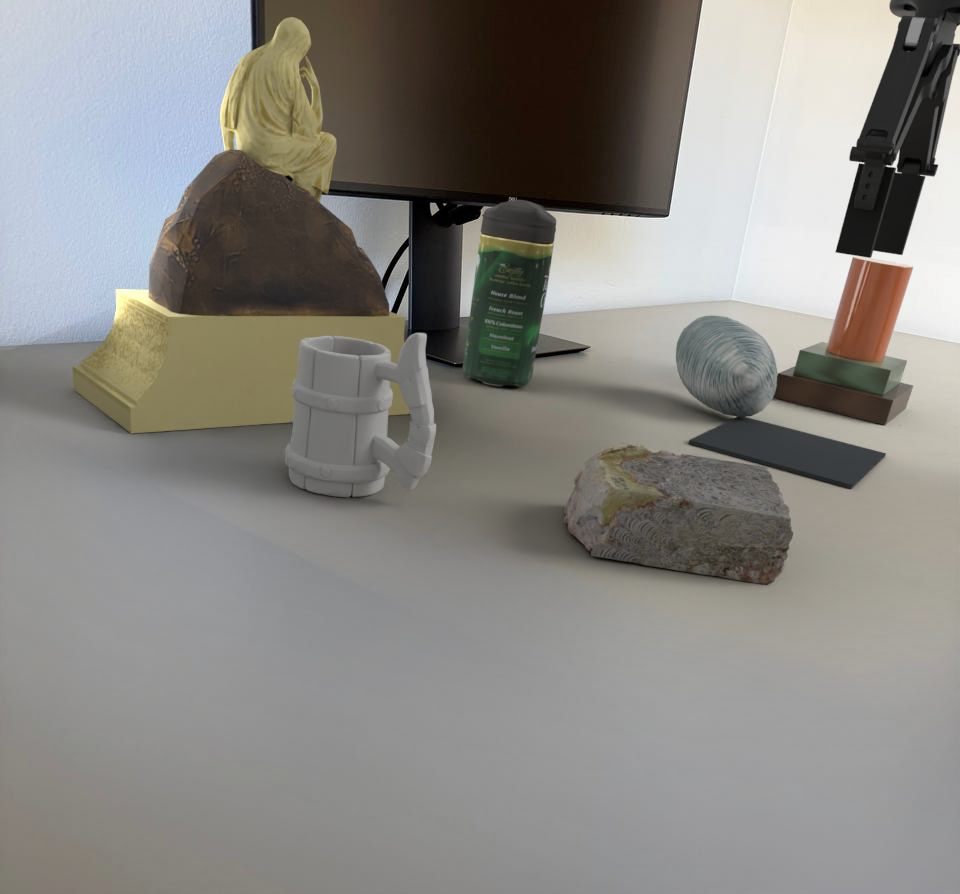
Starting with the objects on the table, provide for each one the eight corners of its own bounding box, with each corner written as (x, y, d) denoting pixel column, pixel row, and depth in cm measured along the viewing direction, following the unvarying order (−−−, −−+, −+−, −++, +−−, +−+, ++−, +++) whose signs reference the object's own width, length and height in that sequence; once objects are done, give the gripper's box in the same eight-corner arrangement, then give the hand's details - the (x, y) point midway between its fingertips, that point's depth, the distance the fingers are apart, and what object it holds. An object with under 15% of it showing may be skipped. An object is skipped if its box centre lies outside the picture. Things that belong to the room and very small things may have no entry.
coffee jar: (528, 393, 105) (557, 208, 97) (456, 381, 106) (479, 196, 97) (535, 375, 114) (562, 204, 105) (469, 364, 114) (490, 192, 106)
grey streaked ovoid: (669, 380, 116) (645, 331, 108) (736, 329, 114) (716, 275, 106) (734, 454, 109) (713, 408, 101) (806, 401, 107) (791, 349, 99)
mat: (884, 456, 101) (886, 453, 101) (851, 489, 89) (852, 484, 89) (738, 418, 108) (739, 415, 108) (688, 443, 95) (689, 439, 95)
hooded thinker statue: (351, 378, 101) (375, 42, 87) (423, 412, 92) (462, 47, 79) (73, 389, 84) (49, -25, 70) (131, 433, 75) (115, -28, 62)
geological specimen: (813, 518, 63) (587, 475, 62) (782, 601, 66) (565, 560, 65) (775, 464, 72) (578, 426, 71) (749, 539, 75) (560, 502, 74)
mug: (328, 457, 77) (338, 299, 71) (453, 499, 72) (475, 334, 66) (261, 477, 71) (267, 306, 65) (393, 524, 66) (411, 344, 60)
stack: (905, 408, 126) (921, 361, 124) (885, 425, 115) (901, 374, 113) (800, 383, 132) (813, 338, 129) (771, 397, 121) (784, 348, 118)
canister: (888, 358, 122) (918, 266, 117) (877, 364, 117) (907, 268, 112) (833, 346, 125) (859, 255, 120) (819, 351, 120) (847, 257, 115)
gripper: (929, -13, 85) (858, 245, 95) (869, -86, 66) (788, 248, 75) (1021, -9, 82) (938, 258, 92) (987, -85, 63) (886, 264, 72)
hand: (870, 254), depth 83 cm, fingers open, 13 cm apart
